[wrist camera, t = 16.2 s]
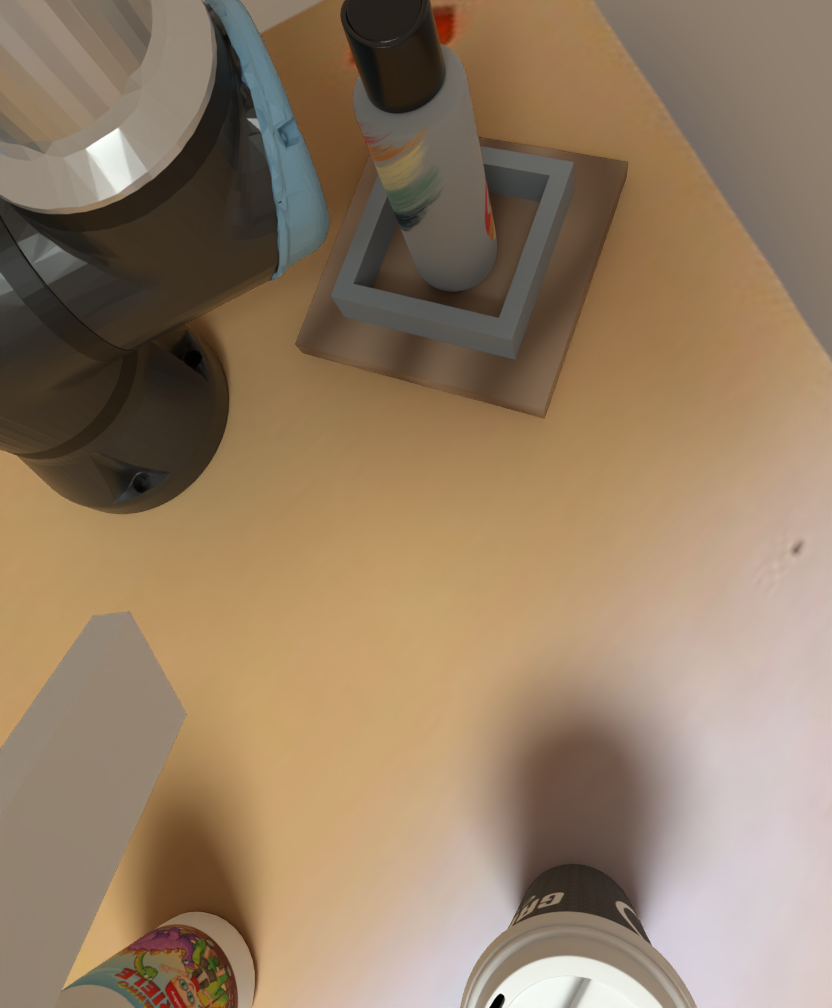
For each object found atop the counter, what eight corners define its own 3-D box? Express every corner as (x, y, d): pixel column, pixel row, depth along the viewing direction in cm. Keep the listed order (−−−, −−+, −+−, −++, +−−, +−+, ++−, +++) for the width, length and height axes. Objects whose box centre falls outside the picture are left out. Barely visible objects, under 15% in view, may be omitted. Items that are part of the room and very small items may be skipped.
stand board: (302, 352, 51) (295, 344, 50) (387, 135, 54) (382, 121, 52) (544, 418, 47) (543, 410, 45) (626, 176, 49) (628, 161, 47)
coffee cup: (588, 800, 41) (596, 876, 27) (705, 955, 39) (783, 1131, 24) (460, 900, 42) (400, 1027, 27) (566, 1060, 39) (562, 1295, 25)
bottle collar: (344, 316, 50) (330, 296, 47) (404, 160, 51) (394, 131, 48) (515, 359, 46) (511, 340, 43) (573, 191, 48) (574, 161, 45)
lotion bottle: (484, 206, 49) (427, -82, 30) (509, 276, 48) (466, 20, 28) (406, 236, 50) (302, -25, 31) (429, 306, 48) (334, 77, 29)
